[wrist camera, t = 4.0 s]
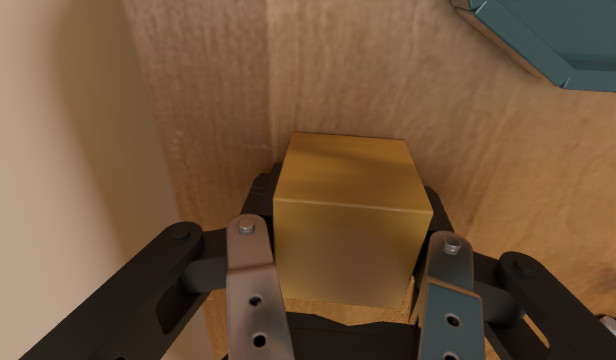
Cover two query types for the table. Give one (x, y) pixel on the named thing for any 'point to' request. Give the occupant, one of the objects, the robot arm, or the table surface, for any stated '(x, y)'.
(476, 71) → the table surface
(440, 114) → the table surface
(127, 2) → the table surface
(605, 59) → the teal frying pan
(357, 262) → the block
